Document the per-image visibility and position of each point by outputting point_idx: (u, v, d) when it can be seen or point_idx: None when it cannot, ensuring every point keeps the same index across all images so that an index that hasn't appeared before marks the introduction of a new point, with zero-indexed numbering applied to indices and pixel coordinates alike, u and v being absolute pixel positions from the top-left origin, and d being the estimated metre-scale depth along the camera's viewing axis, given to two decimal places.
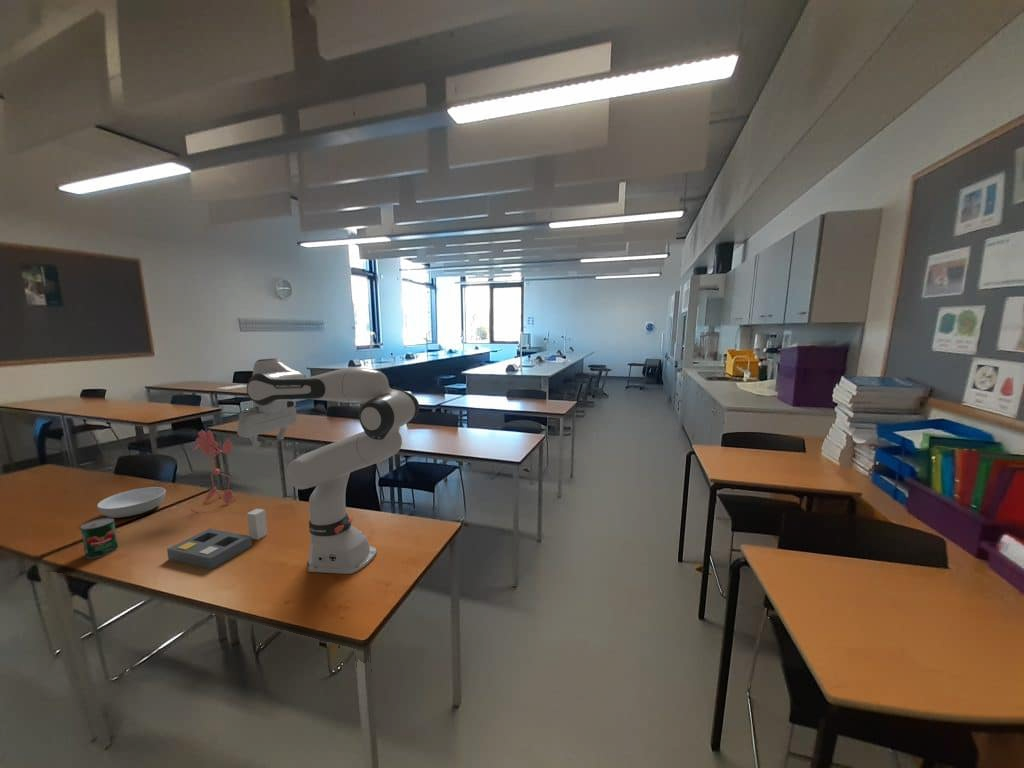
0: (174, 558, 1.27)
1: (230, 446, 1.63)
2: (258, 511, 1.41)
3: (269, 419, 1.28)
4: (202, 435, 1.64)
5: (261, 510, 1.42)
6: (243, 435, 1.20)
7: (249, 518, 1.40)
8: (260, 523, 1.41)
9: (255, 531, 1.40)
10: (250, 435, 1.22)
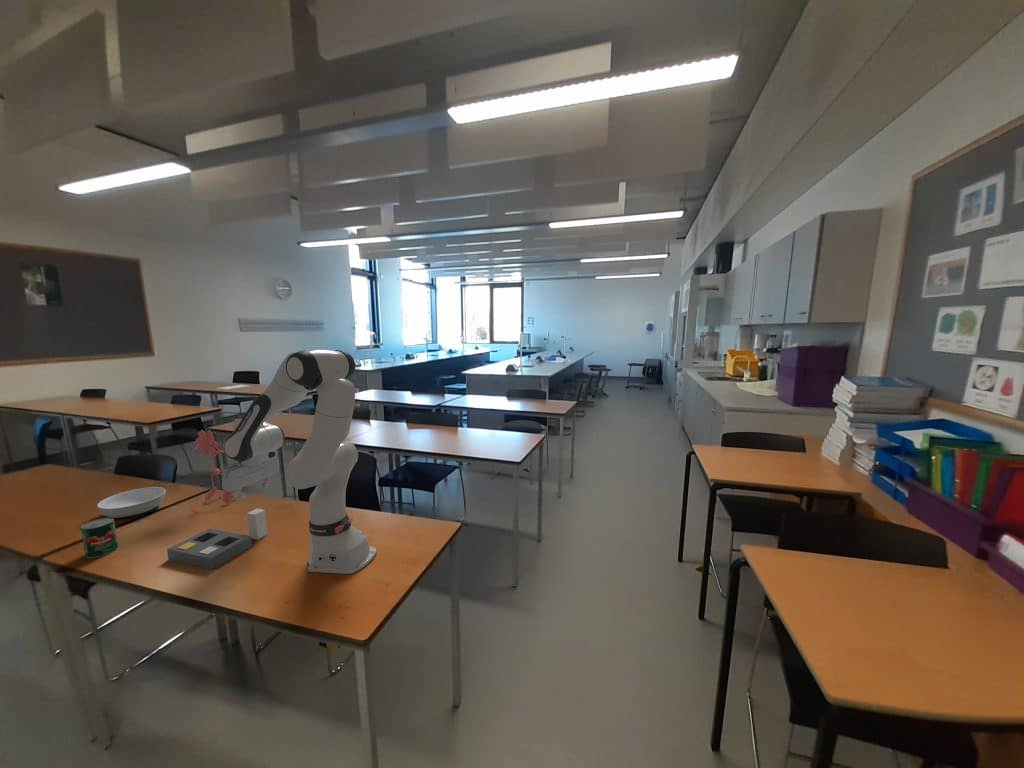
0: (174, 558, 1.27)
1: None
2: (258, 511, 1.41)
3: (252, 471, 1.37)
4: (202, 435, 1.64)
5: (261, 510, 1.42)
6: (227, 489, 1.30)
7: (249, 518, 1.40)
8: (260, 523, 1.41)
9: (255, 531, 1.40)
10: (234, 488, 1.31)
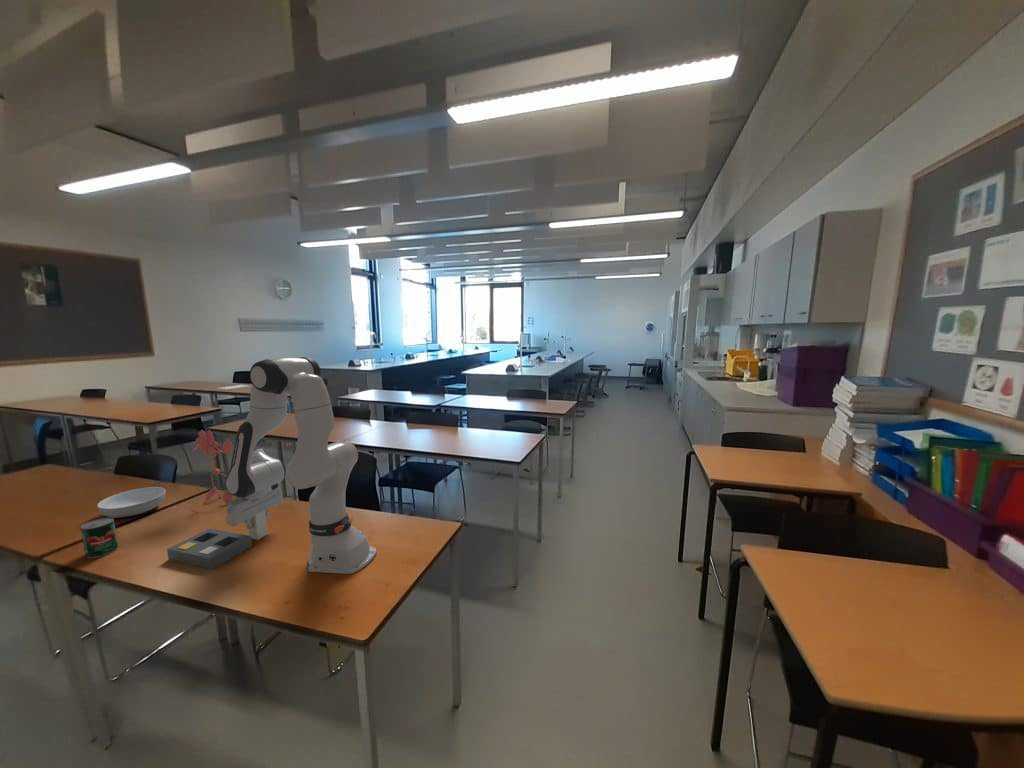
0: (174, 558, 1.27)
1: (230, 446, 1.63)
2: None
3: (255, 504, 1.39)
4: (202, 435, 1.64)
5: None
6: (232, 524, 1.31)
7: None
8: (260, 523, 1.41)
9: (255, 531, 1.40)
10: (238, 523, 1.33)
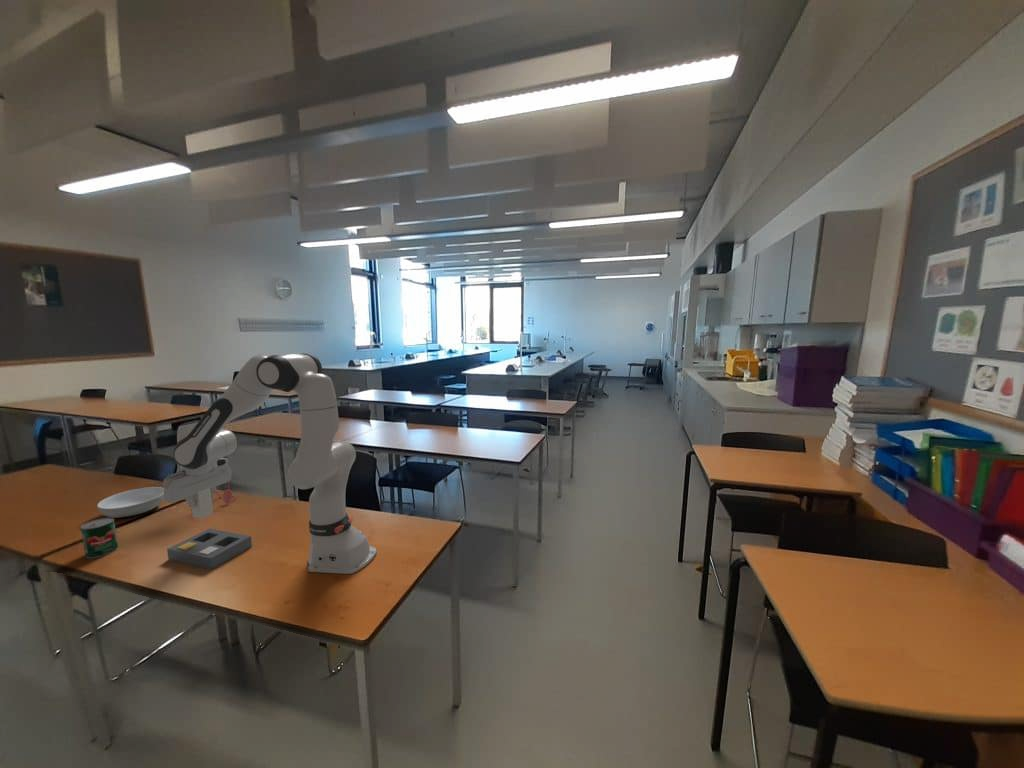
0: (174, 558, 1.27)
1: None
2: None
3: (198, 480, 1.30)
4: None
5: None
6: (169, 500, 1.22)
7: None
8: (204, 501, 1.31)
9: (198, 510, 1.30)
10: (177, 499, 1.23)
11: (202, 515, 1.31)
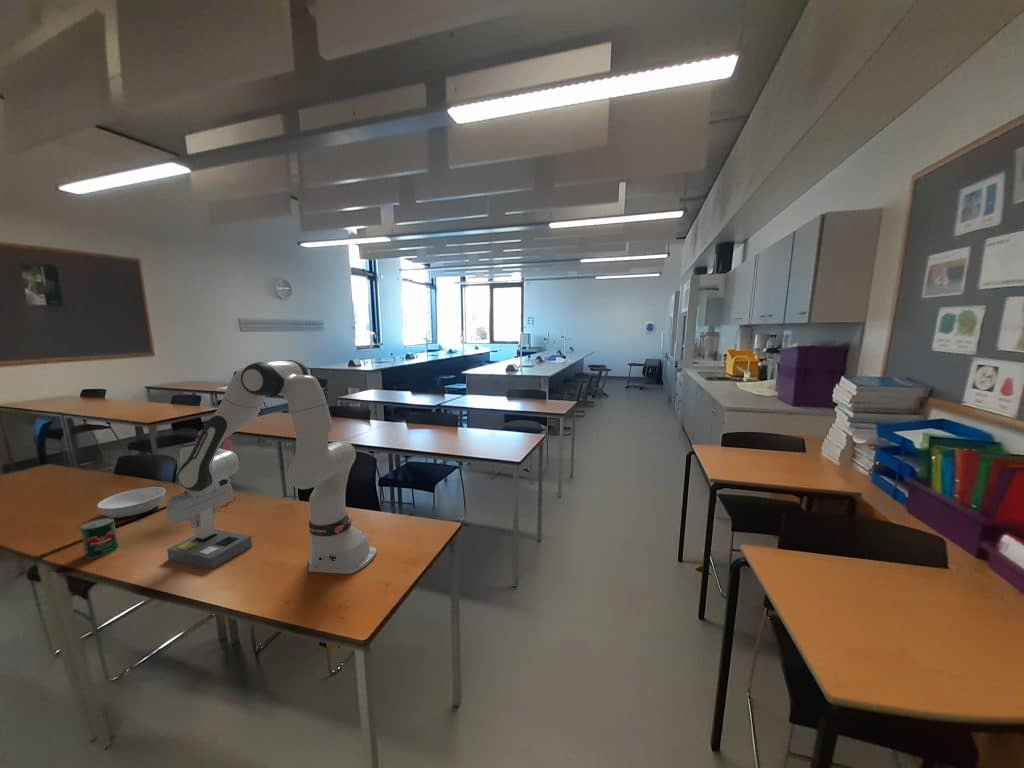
0: (174, 558, 1.27)
1: (230, 446, 1.63)
2: None
3: (201, 501, 1.31)
4: None
5: None
6: (172, 522, 1.23)
7: None
8: (206, 521, 1.32)
9: (200, 530, 1.32)
10: (179, 521, 1.24)
11: (204, 535, 1.32)
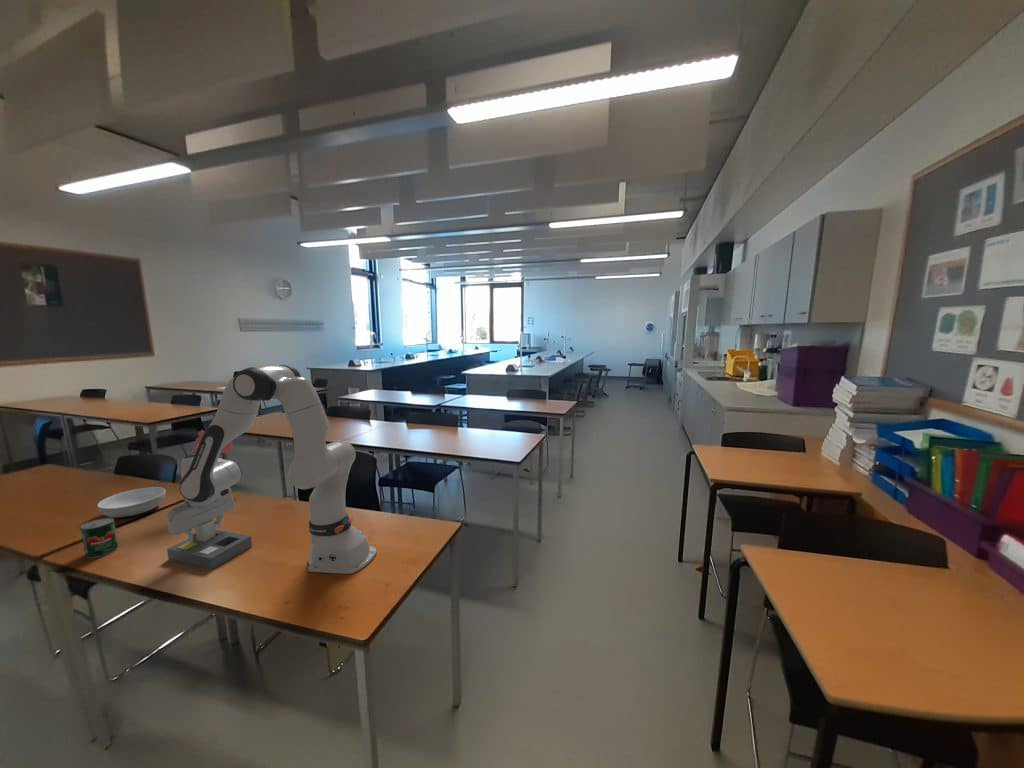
0: (174, 558, 1.27)
1: (230, 446, 1.63)
2: None
3: (202, 511, 1.31)
4: (202, 435, 1.64)
5: (209, 520, 1.34)
6: (173, 533, 1.23)
7: (196, 529, 1.32)
8: (208, 534, 1.33)
9: None
10: (181, 531, 1.25)
11: None
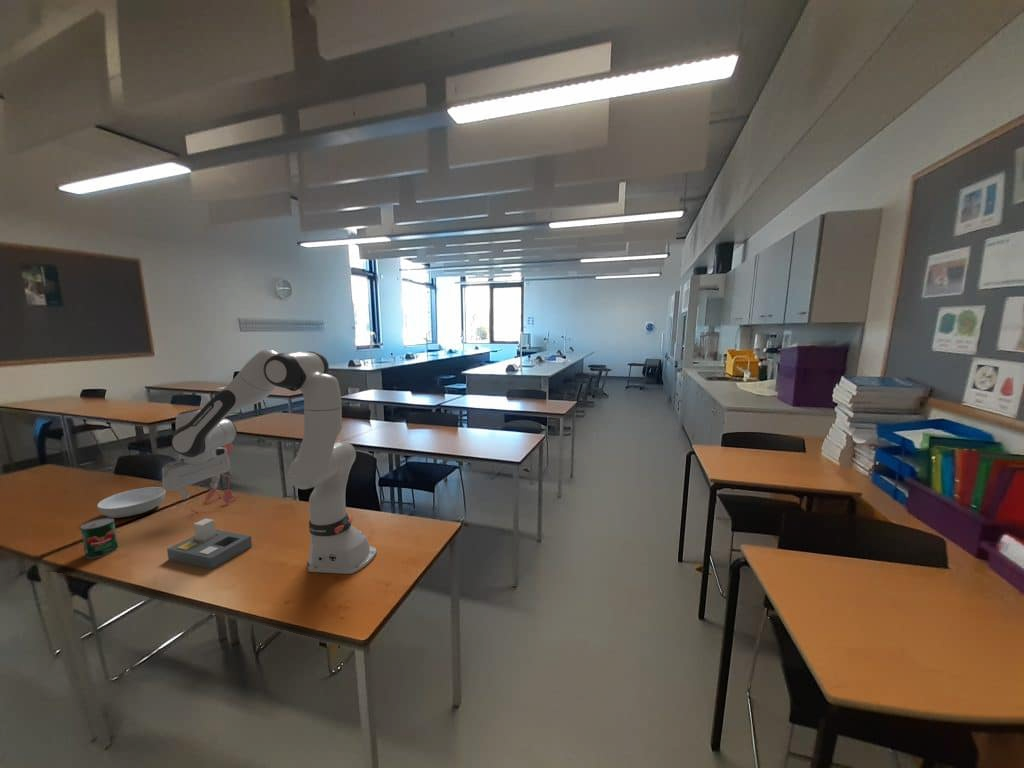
0: (174, 558, 1.27)
1: (230, 446, 1.63)
2: (206, 521, 1.34)
3: (197, 469, 1.29)
4: None
5: (209, 520, 1.34)
6: (168, 489, 1.21)
7: (196, 529, 1.32)
8: (208, 534, 1.33)
9: None
10: (176, 488, 1.23)
11: None
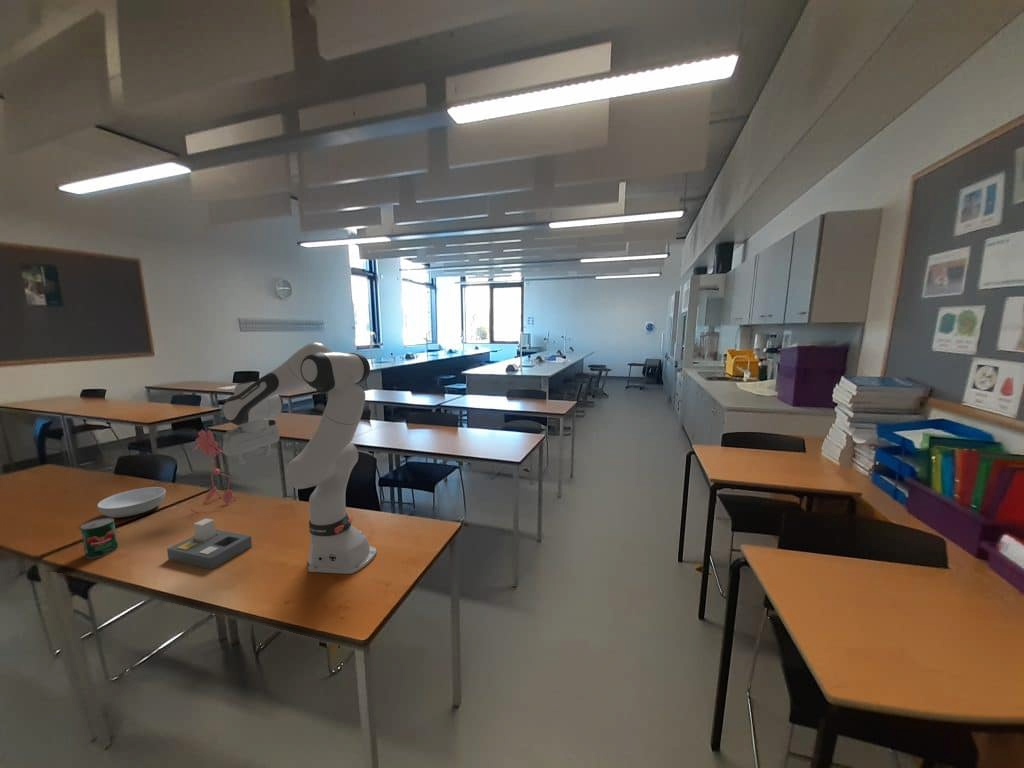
0: (174, 558, 1.27)
1: None
2: (206, 521, 1.34)
3: (252, 438, 1.39)
4: (202, 435, 1.64)
5: (209, 520, 1.34)
6: (228, 454, 1.31)
7: (196, 529, 1.32)
8: (208, 534, 1.33)
9: None
10: (235, 453, 1.33)
11: None
